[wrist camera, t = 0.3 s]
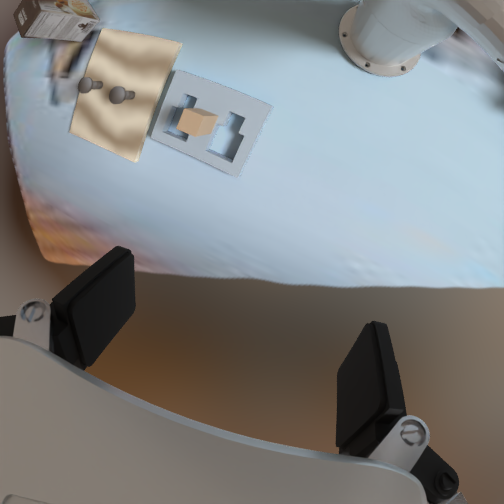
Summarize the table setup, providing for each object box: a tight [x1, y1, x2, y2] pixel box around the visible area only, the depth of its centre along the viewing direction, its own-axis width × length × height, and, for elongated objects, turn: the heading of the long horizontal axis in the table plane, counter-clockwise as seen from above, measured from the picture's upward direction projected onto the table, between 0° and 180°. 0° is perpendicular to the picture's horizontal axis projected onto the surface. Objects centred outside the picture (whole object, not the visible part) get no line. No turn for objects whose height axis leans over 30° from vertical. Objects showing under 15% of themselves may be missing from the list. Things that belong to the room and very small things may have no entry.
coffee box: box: [14, 0, 100, 42], centre depth 27 cm, size 9×6×16 cm
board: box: [69, 28, 183, 162], centre depth 38 cm, size 22×18×6 cm
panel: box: [151, 70, 274, 178], centre depth 37 cm, size 12×16×8 cm
